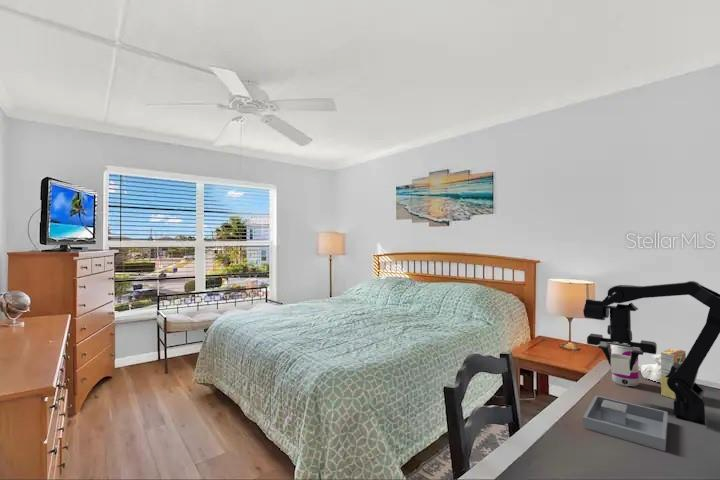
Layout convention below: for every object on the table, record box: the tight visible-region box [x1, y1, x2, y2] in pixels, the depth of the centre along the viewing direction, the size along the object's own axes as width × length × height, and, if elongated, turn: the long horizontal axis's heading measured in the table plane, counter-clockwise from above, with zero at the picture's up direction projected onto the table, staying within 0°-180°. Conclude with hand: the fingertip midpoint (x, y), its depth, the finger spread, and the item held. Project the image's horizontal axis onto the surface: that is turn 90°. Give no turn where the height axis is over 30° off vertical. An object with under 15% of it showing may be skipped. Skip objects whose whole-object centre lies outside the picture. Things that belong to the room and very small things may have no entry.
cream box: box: [610, 353, 631, 376], centre depth 121 cm, size 5×6×5 cm
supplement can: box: [611, 342, 640, 387], centre depth 136 cm, size 8×8×15 cm
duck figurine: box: [640, 353, 661, 384], centre depth 138 cm, size 12×8×11 cm
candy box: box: [660, 347, 687, 400], centre depth 125 cm, size 9×4×15 cm, turn 119°
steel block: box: [601, 400, 628, 426], centre depth 107 cm, size 6×6×4 cm
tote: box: [582, 395, 669, 452], centre depth 104 cm, size 18×20×4 cm
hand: (621, 368), depth 121 cm, fingers closed on cream box, 5 cm apart
